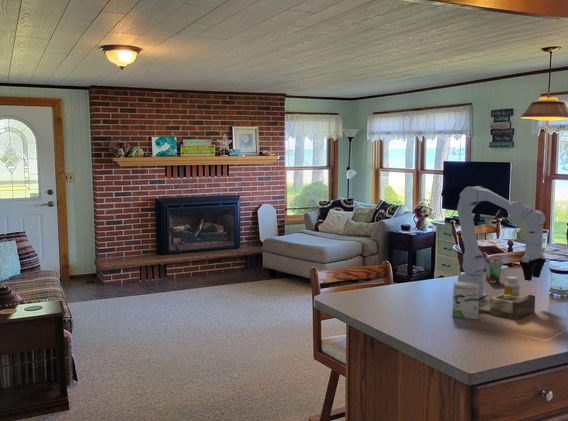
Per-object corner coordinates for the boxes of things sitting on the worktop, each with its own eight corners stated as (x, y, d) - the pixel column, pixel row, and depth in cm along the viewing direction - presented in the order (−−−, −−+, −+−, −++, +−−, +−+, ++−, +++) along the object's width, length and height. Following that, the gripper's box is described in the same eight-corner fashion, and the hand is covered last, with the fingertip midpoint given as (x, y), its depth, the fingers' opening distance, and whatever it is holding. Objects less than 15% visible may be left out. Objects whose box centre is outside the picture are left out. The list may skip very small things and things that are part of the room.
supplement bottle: (501, 300, 214) (502, 276, 213) (514, 300, 215) (515, 275, 214) (508, 304, 209) (509, 279, 208) (521, 303, 209) (522, 278, 209)
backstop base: (465, 308, 202) (466, 292, 201) (483, 302, 212) (483, 286, 211) (518, 319, 188) (519, 302, 188) (534, 312, 198) (535, 295, 197)
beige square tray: (489, 308, 198) (490, 298, 197) (500, 304, 204) (501, 293, 204) (514, 313, 191) (515, 302, 191) (525, 309, 198) (525, 298, 197)
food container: (504, 285, 240) (505, 263, 239) (489, 285, 241) (490, 262, 240) (499, 279, 252) (500, 258, 251) (485, 279, 253) (486, 257, 252)
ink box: (452, 317, 191) (453, 283, 190) (452, 313, 196) (453, 280, 195) (478, 319, 189) (479, 285, 188) (477, 315, 194) (478, 282, 192)
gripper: (537, 246, 196) (535, 283, 198) (552, 242, 206) (550, 277, 208) (517, 244, 201) (515, 280, 203) (533, 240, 212) (531, 274, 213)
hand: (532, 278), depth 206 cm, fingers open, 7 cm apart
